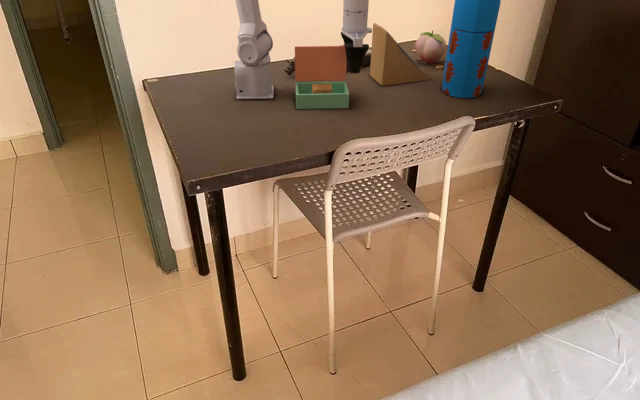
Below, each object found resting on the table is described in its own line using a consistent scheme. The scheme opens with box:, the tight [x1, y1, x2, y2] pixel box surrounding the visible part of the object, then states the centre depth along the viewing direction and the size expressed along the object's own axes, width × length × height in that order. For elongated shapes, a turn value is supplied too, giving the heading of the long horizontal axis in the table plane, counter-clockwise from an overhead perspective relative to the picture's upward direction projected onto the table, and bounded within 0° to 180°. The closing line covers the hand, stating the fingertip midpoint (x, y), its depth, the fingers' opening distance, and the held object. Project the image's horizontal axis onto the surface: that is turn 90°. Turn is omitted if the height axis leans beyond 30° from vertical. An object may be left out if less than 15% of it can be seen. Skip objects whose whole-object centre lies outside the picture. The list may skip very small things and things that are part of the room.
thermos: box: [441, 0, 502, 99], centre depth 130 cm, size 11×11×25 cm
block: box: [312, 84, 332, 94], centre depth 128 cm, size 5×4×4 cm
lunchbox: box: [295, 81, 350, 110], centre depth 130 cm, size 8×13×4 cm, turn 93°
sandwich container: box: [369, 22, 431, 87], centre depth 141 cm, size 9×15×15 cm, turn 109°
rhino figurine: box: [283, 56, 295, 77], centre depth 145 cm, size 4×14×6 cm, turn 133°
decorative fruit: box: [414, 30, 447, 65], centre depth 152 cm, size 9×8×10 cm
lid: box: [294, 45, 347, 82], centre depth 131 cm, size 9×13×4 cm
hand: (353, 67), depth 124 cm, fingers open, 7 cm apart
